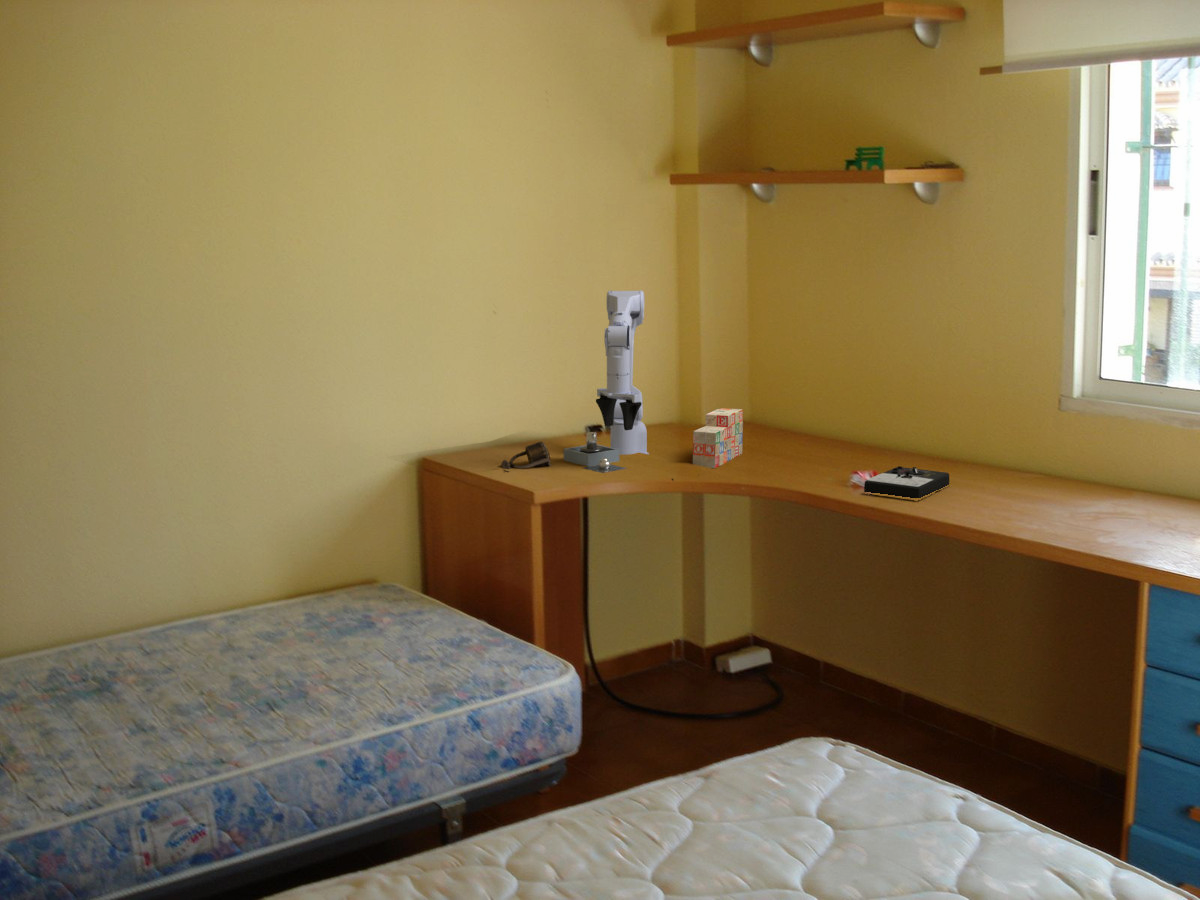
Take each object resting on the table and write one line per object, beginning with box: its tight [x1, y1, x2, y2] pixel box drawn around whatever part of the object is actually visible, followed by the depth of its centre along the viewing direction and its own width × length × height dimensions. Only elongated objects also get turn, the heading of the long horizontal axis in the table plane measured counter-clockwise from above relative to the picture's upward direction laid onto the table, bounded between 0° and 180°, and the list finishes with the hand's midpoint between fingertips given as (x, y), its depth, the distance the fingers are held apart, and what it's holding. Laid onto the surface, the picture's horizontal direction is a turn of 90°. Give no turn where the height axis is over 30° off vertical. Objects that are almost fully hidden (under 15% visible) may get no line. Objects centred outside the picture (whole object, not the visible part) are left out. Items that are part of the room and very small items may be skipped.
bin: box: [563, 444, 620, 467], centre depth 316 cm, size 10×10×4 cm
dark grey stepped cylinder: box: [580, 431, 603, 454], centre depth 316 cm, size 6×6×8 cm
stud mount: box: [583, 458, 628, 474], centre depth 307 cm, size 8×8×4 cm
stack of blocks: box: [692, 407, 744, 469], centre depth 320 cm, size 21×6×12 cm, turn 155°
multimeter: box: [863, 465, 950, 498], centre depth 284 cm, size 13×19×5 cm
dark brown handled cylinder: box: [500, 440, 552, 473], centre depth 310 cm, size 7×13×10 cm
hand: (618, 427), depth 309 cm, fingers open, 7 cm apart
